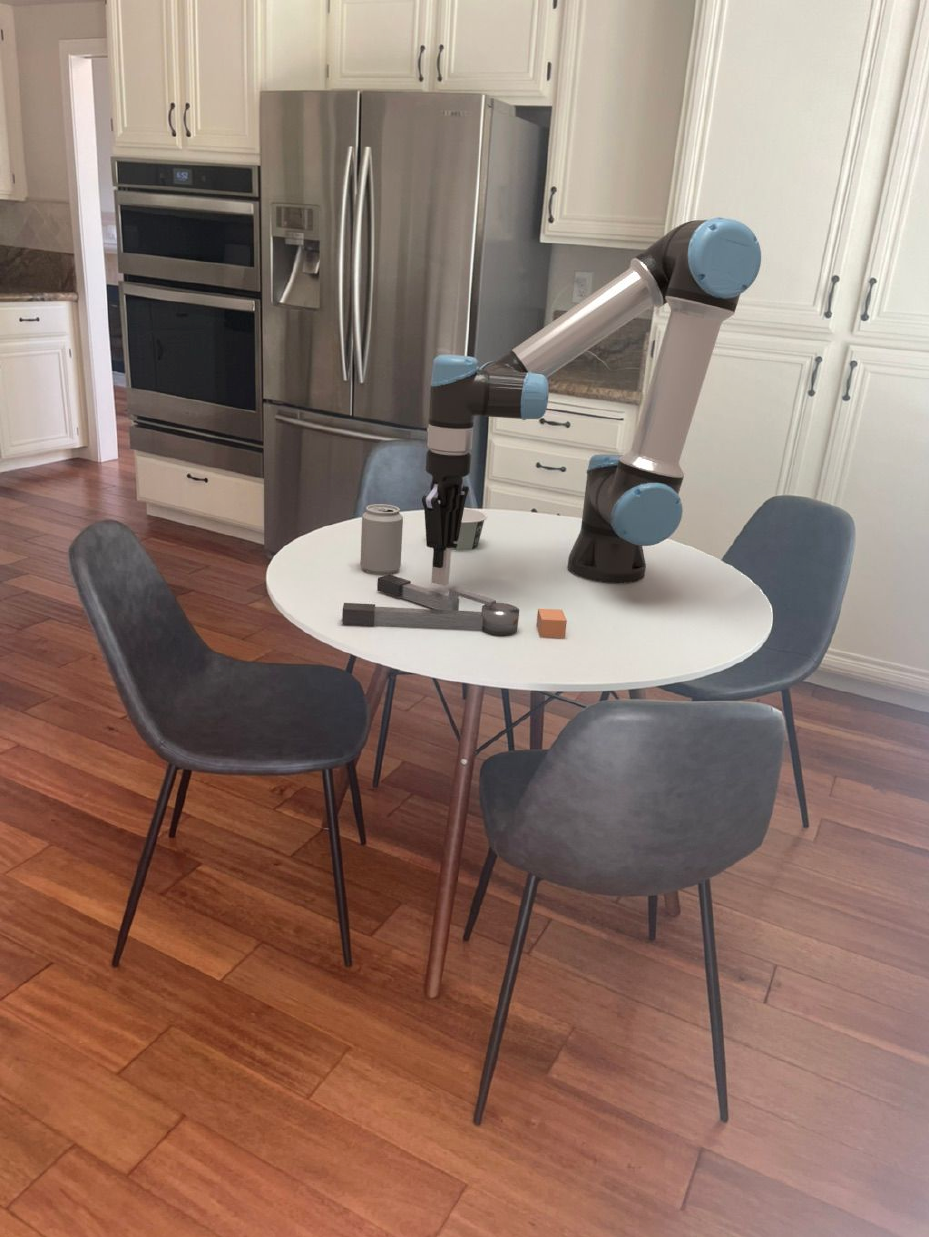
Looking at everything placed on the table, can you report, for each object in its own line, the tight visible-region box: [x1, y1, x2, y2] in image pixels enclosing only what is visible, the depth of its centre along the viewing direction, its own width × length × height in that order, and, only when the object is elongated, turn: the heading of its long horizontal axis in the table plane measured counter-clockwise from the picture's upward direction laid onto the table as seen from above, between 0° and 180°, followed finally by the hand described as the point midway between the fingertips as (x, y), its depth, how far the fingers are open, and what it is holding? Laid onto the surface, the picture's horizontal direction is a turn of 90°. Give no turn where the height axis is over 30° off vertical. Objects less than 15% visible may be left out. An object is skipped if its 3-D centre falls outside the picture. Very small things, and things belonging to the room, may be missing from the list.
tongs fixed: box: [341, 602, 520, 637], centre depth 150 cm, size 28×6×4 cm, turn 93°
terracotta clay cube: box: [535, 608, 568, 639], centre depth 152 cm, size 4×5×3 cm
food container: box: [451, 507, 488, 551], centre depth 195 cm, size 12×12×6 cm
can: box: [359, 503, 404, 576], centre depth 174 cm, size 8×8×12 cm
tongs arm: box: [376, 574, 497, 611], centre depth 158 cm, size 24×3×4 cm, turn 53°
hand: (439, 583), depth 167 cm, fingers closed
